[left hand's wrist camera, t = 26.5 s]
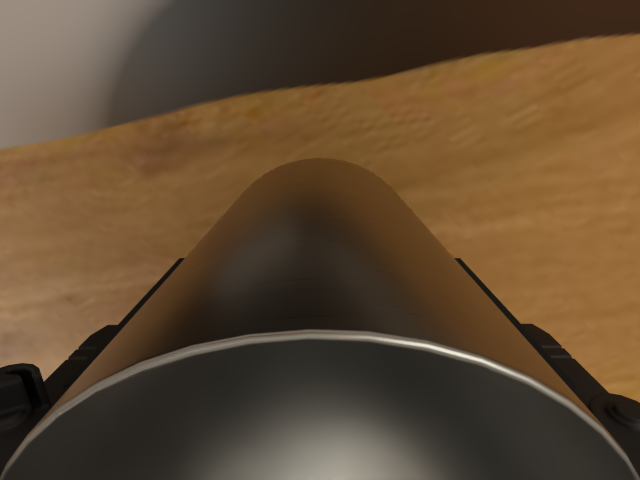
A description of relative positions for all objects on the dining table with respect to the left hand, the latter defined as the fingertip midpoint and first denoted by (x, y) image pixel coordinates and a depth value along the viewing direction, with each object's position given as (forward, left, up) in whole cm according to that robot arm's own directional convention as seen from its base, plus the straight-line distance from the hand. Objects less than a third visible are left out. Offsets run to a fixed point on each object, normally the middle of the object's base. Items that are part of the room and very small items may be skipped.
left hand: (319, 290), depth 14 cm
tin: (0, 0, -3) cm, 3 cm away
